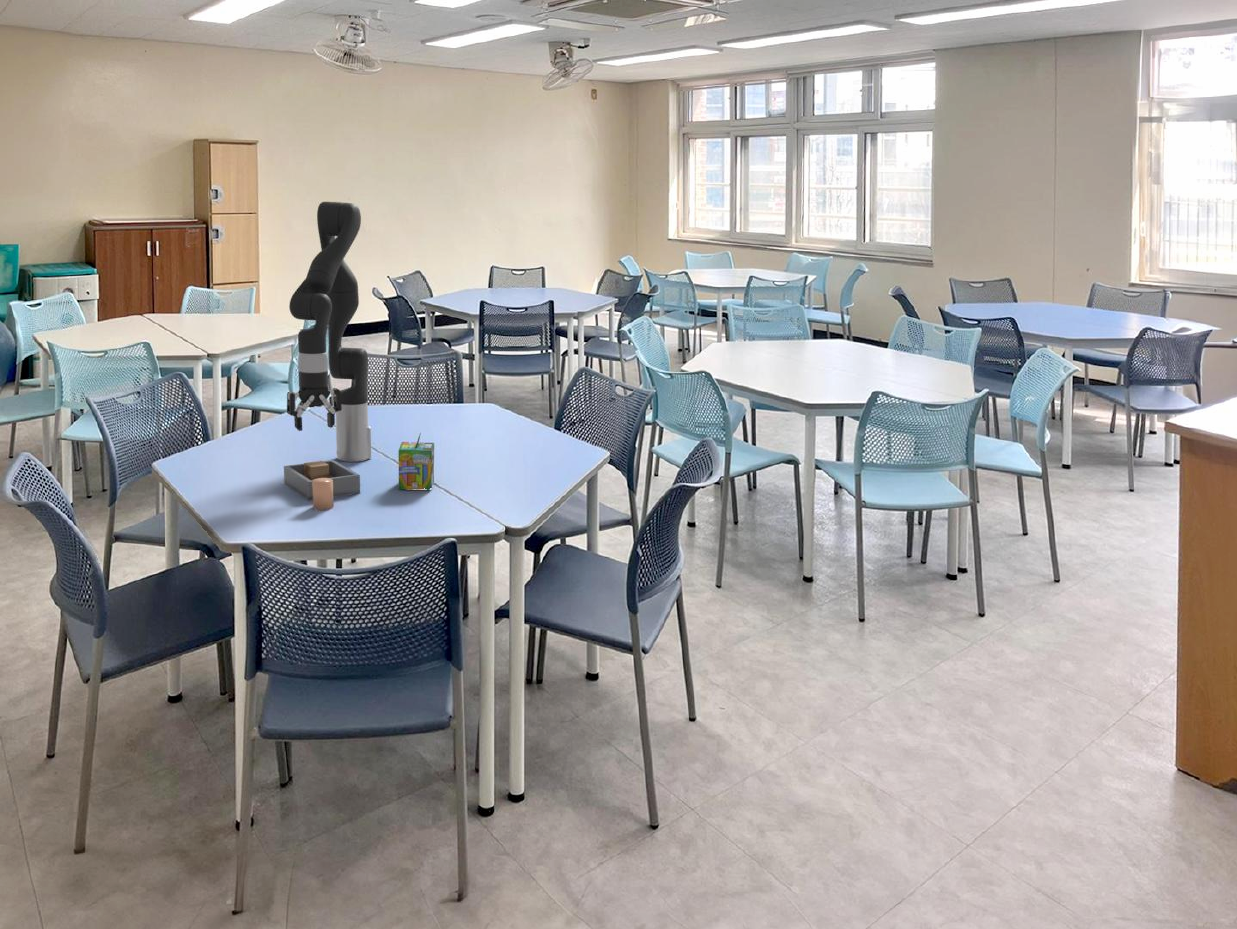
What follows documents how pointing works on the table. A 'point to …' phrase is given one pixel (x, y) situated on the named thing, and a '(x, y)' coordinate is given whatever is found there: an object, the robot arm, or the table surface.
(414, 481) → the juice box
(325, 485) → the terracotta cylinder
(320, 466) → the walnut cube
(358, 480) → the charcoal tote
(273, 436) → the table surface
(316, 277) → the robot arm
